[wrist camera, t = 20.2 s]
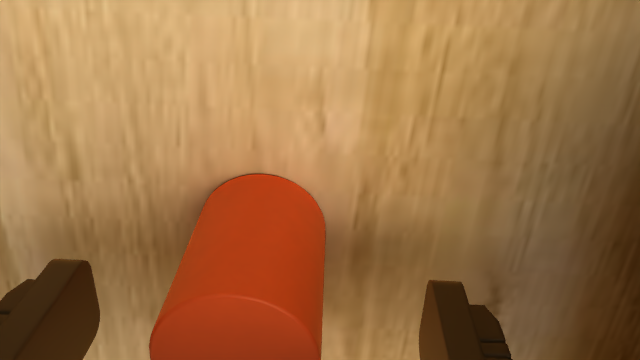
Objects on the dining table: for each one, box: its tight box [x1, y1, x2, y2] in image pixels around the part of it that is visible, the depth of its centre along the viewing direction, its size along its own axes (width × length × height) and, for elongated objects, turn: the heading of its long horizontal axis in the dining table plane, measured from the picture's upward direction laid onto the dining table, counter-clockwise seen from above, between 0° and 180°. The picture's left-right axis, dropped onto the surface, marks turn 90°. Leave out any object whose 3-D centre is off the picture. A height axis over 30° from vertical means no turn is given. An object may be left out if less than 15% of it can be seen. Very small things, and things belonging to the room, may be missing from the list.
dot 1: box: [149, 174, 325, 360], centre depth 14 cm, size 4×4×5 cm
